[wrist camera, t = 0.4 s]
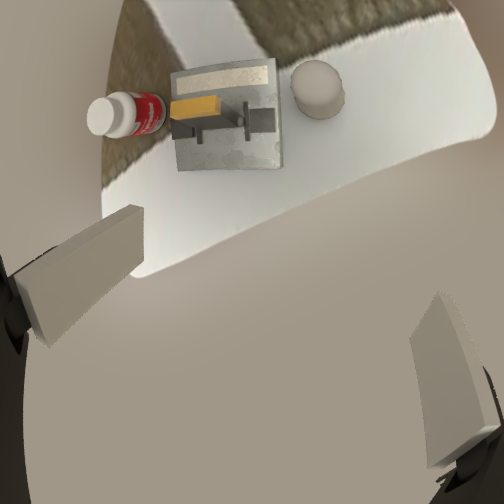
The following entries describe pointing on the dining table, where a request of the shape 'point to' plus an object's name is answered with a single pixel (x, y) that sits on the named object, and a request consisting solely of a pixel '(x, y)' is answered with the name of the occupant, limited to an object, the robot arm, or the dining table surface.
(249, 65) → the panel
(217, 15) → the dining table surface
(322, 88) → the salt shaker
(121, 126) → the pill bottle
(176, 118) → the paddle
